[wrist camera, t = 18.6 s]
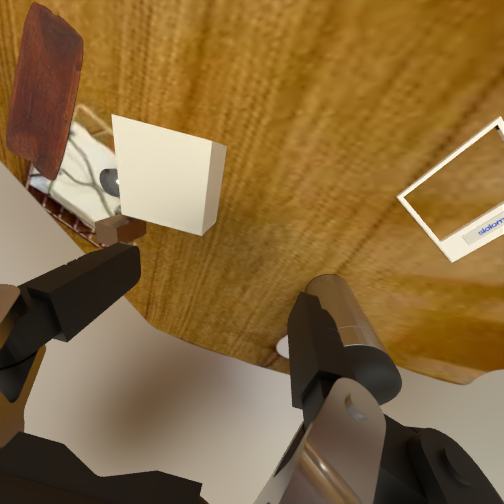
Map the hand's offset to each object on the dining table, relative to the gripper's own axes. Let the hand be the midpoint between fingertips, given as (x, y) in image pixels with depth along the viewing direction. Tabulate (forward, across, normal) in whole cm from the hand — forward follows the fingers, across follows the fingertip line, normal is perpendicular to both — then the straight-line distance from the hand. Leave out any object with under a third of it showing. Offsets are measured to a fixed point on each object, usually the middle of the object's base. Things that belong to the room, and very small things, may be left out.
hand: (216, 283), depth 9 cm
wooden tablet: (+29, +41, -5) cm, 51 cm away
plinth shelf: (+28, +15, +1) cm, 32 cm away
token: (+28, +28, +5) cm, 40 cm away
